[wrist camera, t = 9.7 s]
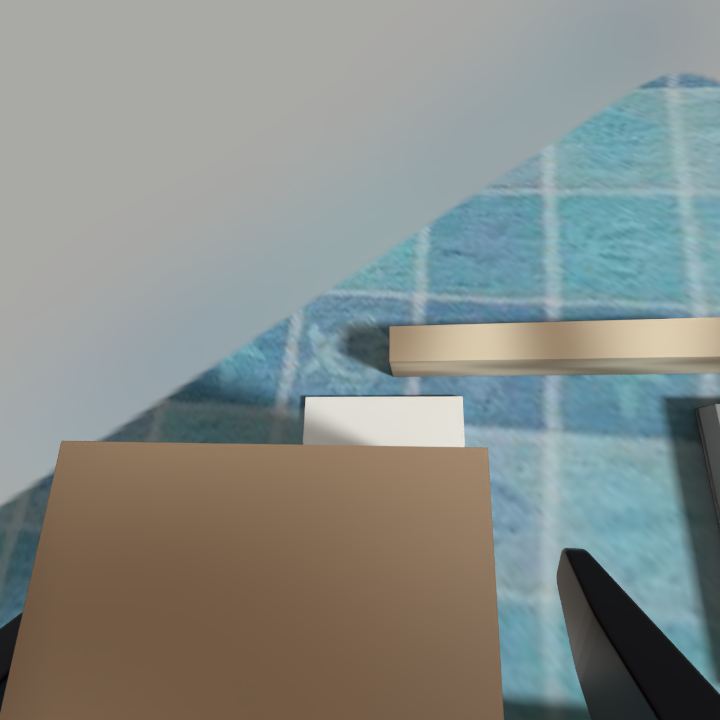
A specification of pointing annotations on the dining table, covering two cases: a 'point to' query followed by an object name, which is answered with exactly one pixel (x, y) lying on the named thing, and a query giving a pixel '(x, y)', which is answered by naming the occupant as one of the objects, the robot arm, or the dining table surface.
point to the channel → (557, 348)
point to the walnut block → (261, 585)
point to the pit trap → (711, 447)
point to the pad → (384, 421)
